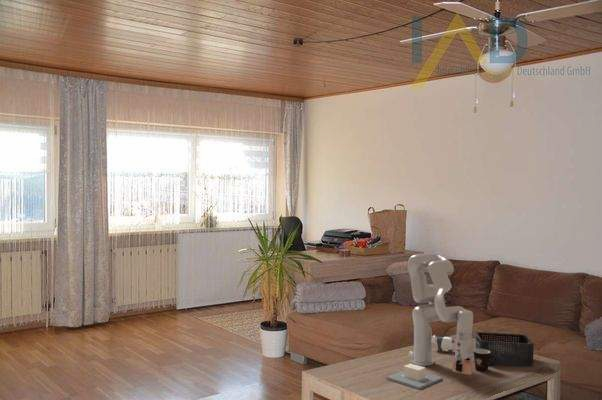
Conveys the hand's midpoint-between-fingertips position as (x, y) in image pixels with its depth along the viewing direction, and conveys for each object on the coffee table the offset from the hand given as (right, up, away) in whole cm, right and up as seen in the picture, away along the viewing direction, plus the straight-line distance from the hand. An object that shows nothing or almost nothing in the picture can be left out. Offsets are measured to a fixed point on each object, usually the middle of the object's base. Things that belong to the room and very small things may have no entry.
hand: (463, 369), depth 290 cm
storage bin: (+32, -5, +32) cm, 45 cm away
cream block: (-24, -4, +1) cm, 25 cm away
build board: (-24, -5, +1) cm, 25 cm away
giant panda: (+2, -4, +49) cm, 49 cm away
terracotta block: (0, -1, 0) cm, 1 cm away
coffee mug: (+15, -5, +15) cm, 22 cm away
